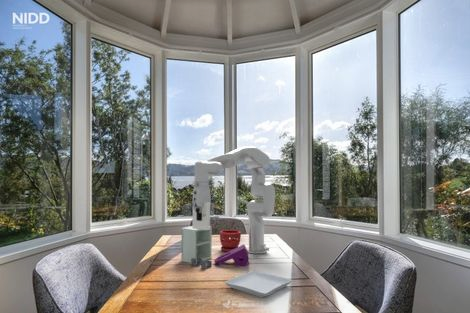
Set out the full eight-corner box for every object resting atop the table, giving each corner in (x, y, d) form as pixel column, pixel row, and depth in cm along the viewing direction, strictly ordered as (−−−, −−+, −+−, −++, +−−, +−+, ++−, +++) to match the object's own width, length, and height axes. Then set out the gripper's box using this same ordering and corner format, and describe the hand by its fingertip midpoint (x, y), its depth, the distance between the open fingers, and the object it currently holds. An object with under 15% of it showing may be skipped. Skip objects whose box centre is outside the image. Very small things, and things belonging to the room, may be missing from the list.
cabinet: (211, 258, 180) (211, 226, 181) (194, 263, 168) (195, 230, 169) (198, 255, 186) (198, 224, 187) (181, 260, 174) (181, 228, 175)
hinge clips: (211, 266, 163) (211, 258, 163) (204, 269, 159) (204, 261, 159) (198, 263, 169) (198, 256, 169) (191, 266, 164) (191, 258, 164)
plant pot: (240, 253, 191) (240, 233, 192) (219, 252, 192) (219, 233, 192) (240, 247, 204) (240, 229, 205) (220, 247, 205) (220, 229, 205)
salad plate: (253, 276, 148) (253, 269, 149) (293, 287, 135) (292, 279, 135) (223, 289, 132) (223, 281, 132) (265, 302, 119) (265, 293, 119)
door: (209, 229, 163) (210, 202, 163) (205, 230, 160) (205, 202, 161) (195, 227, 168) (195, 201, 169) (191, 228, 166) (191, 201, 166)
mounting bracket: (220, 277, 164) (251, 262, 164) (213, 263, 164) (244, 248, 164) (221, 272, 173) (250, 258, 173) (215, 258, 174) (244, 244, 174)
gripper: (196, 185, 157) (195, 222, 156) (216, 184, 170) (216, 219, 169) (185, 185, 162) (185, 221, 160) (206, 184, 175) (205, 218, 173)
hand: (201, 219), depth 165 cm, fingers closed on door, 2 cm apart
